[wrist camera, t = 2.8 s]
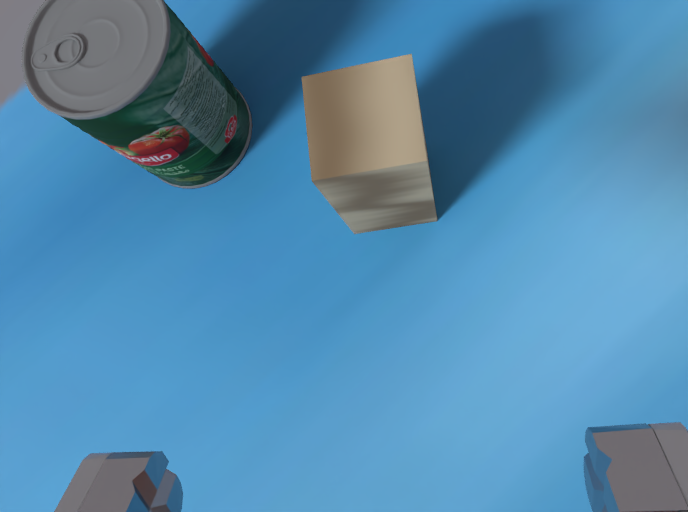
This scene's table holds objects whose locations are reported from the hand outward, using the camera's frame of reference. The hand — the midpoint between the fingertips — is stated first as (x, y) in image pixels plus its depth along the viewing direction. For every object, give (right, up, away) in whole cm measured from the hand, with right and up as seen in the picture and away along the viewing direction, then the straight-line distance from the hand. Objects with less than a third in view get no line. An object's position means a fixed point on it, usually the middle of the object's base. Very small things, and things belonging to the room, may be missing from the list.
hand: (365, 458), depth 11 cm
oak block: (+2, +8, +23) cm, 25 cm away
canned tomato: (-10, +12, +27) cm, 31 cm away
